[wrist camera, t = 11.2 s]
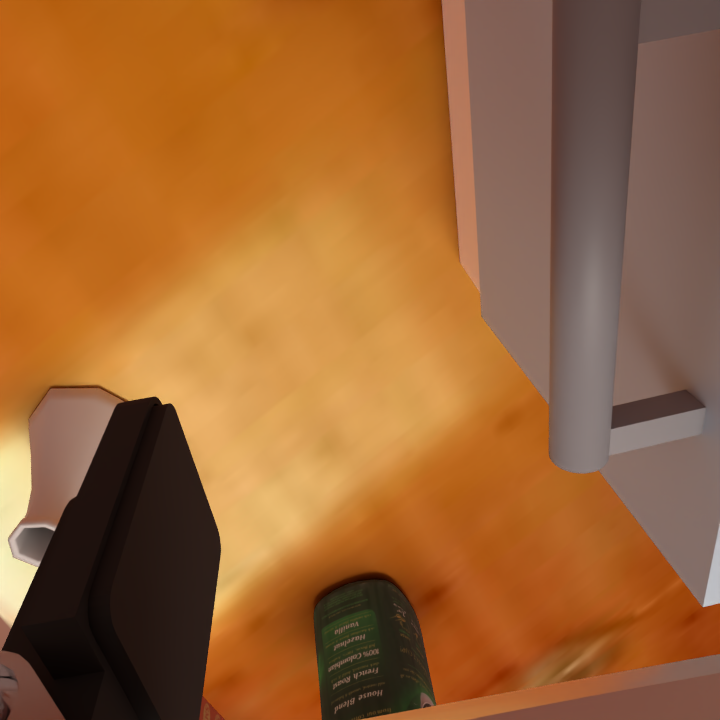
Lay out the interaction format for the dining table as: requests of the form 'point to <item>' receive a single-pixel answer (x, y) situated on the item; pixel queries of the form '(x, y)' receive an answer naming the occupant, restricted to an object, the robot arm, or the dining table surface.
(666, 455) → the lid flap
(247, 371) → the dining table surface
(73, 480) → the flask
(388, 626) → the coffee jar
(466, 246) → the box body
